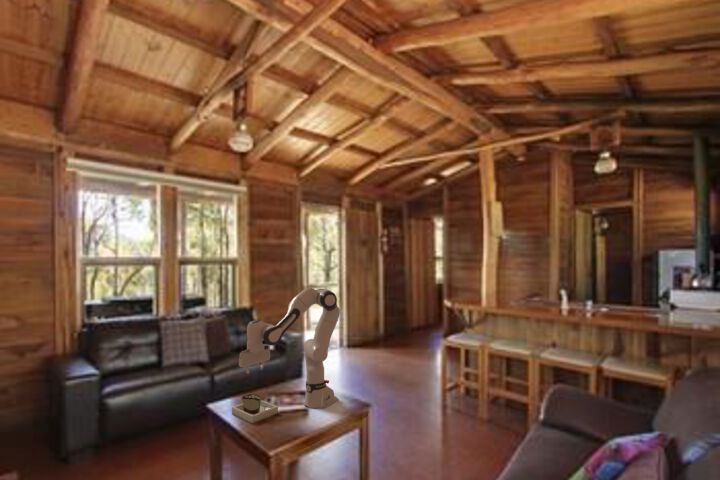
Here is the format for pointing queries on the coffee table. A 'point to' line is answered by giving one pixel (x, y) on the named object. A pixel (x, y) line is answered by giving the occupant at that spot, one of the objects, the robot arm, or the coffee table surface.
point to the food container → (251, 403)
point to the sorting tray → (257, 417)
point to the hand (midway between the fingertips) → (254, 371)
